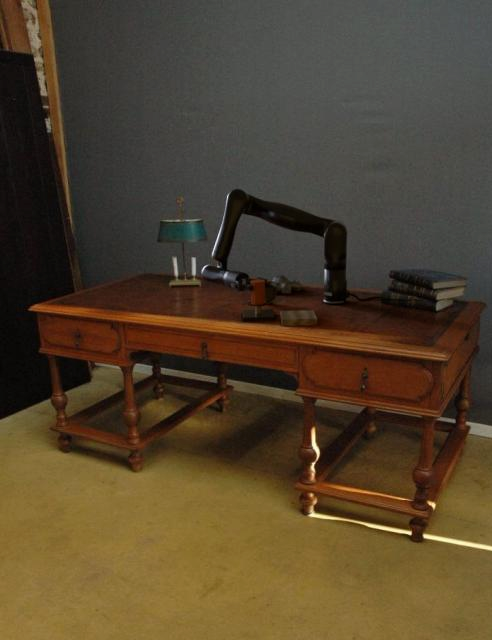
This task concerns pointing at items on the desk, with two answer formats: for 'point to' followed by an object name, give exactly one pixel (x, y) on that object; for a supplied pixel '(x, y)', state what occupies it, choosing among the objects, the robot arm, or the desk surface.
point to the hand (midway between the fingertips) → (260, 286)
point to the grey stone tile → (298, 318)
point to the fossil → (285, 284)
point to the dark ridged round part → (270, 293)
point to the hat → (258, 293)
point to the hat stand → (258, 314)
